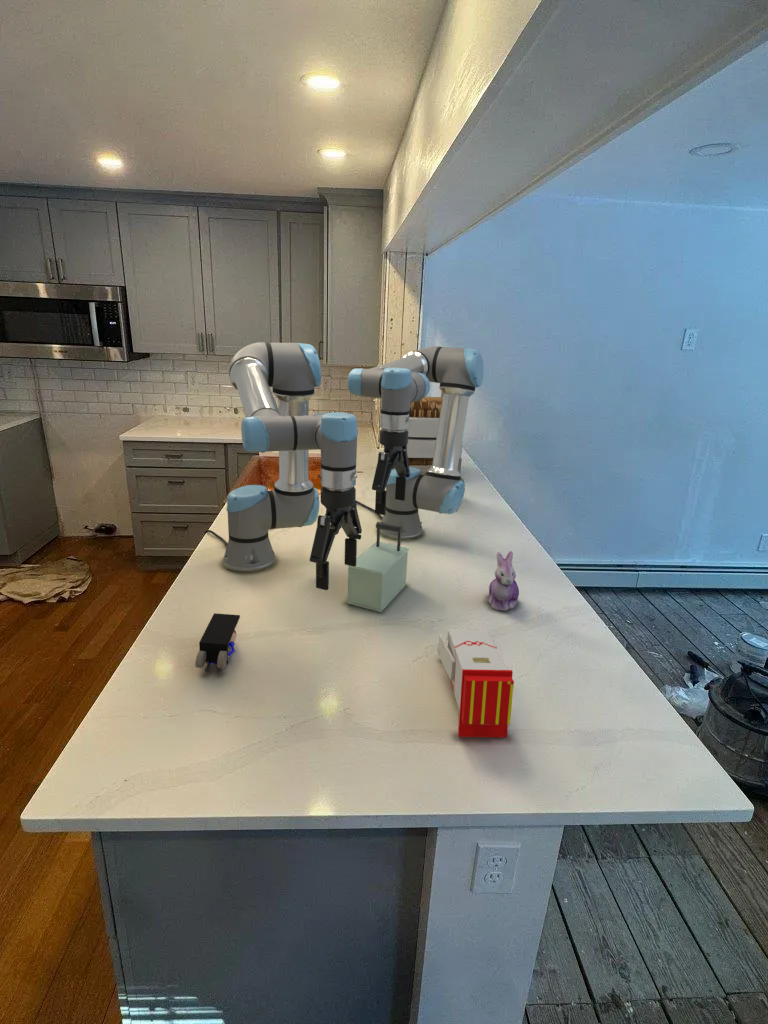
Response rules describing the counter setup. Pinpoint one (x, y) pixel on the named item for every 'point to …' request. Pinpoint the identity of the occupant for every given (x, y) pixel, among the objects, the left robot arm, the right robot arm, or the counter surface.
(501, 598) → the figurine
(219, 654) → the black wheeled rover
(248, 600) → the counter surface
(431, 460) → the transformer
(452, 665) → the toy
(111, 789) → the counter surface
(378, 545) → the lid
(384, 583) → the chest
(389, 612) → the counter surface
